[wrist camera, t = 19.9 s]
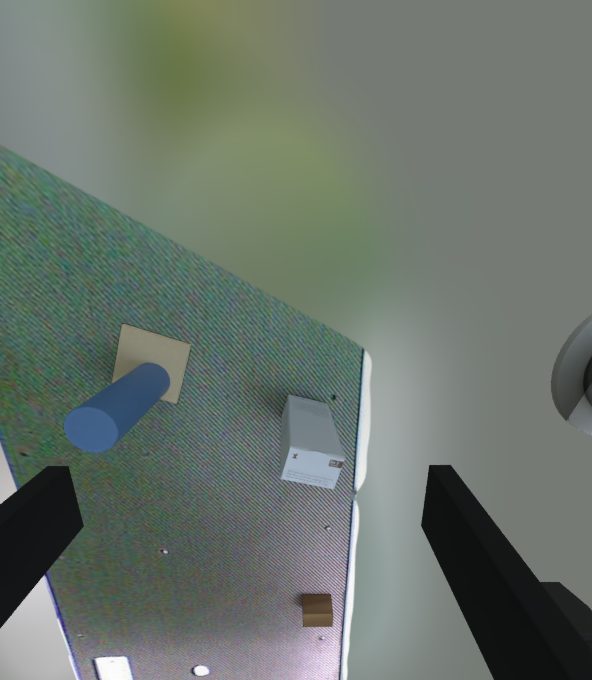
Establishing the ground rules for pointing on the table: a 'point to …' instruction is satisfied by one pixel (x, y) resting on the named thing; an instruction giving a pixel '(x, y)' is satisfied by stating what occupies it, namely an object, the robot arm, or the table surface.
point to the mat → (152, 356)
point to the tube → (116, 408)
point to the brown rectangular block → (317, 610)
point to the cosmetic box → (309, 443)
